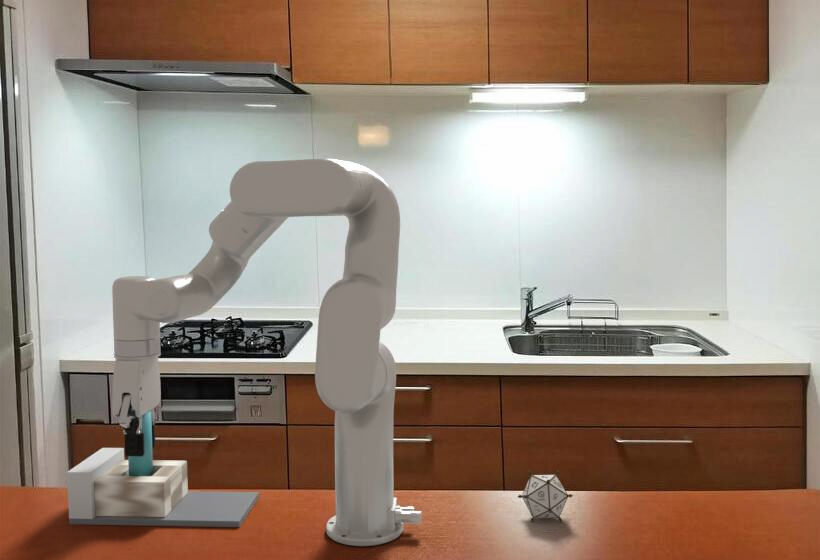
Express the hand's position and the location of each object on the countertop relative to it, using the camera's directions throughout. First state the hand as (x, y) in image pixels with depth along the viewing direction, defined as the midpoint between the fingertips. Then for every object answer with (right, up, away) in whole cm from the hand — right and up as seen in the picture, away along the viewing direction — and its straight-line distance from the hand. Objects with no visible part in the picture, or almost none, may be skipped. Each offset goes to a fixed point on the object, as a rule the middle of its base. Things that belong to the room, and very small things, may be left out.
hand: (140, 450), depth 131 cm
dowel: (0, -4, 0) cm, 4 cm away
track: (+5, -11, +1) cm, 12 cm away
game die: (+70, -11, -4) cm, 71 cm away
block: (0, -10, +1) cm, 10 cm away
